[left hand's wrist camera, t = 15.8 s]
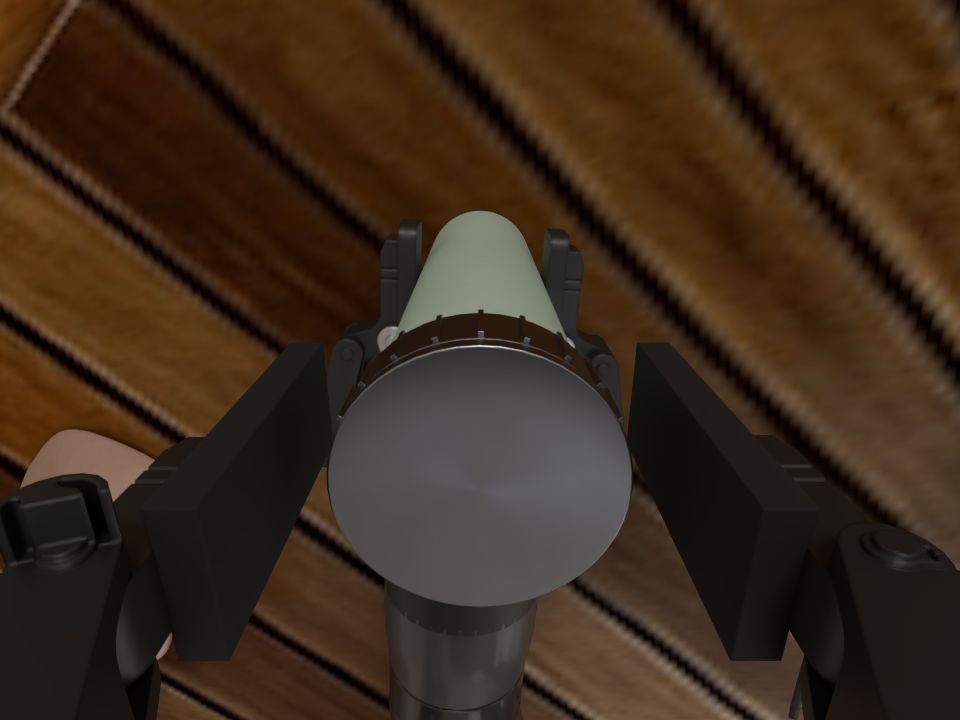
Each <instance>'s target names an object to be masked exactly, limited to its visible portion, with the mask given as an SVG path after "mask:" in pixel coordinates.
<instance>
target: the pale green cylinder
mask: <svg viewBox="0 0 960 720" xmlns="http://www.w3.org/2000/svg"><path fill="white" fill-rule="evenodd" d="M478 309H483V310H484V313H492V314H501V315H507V316H512V317H517V318H519V316H520V315H523V316H525V318H526V321H529V322H533V323H535V324H537V325H539V326H541V327H543V328H546V329H548V330H550V331H551V332H553V333H555V334H556V332H557V331H559V332H560V333H562V335H563V338H564V340H565V341H566V342H568V340H567V338H566V335H565V333H564V331H563V328H562V326H561V324H560V321H559V319H558V317H557V314H556V312H555V310H554V307H553V305H552V303H551V300H550V298H549V296H548V293H547V291H546V289H545V286H544V284H543V282H542V279H541V277H540V275H539V272H538V270H537V268H536V265H535V263H534V261H533V258H532V256H531V254H530V251H529V249H528V247H527V244H526V242H525V240H524V238H523V236H522V234H521V233H520V231H519V230H518V229H517V227H516V226H515V225H514V224H513V223H511V222H510V221H509V220H507V219H506V218H504V217H502V216H500V215H498V214H495V213H492V212H487V211H473V212H468V213H465V214H462V215H459V216H457V217H455V218H454V219H452V220H451V221H450V222H448V223H447V224H446V225H445V226H444V227H443V228H442V230H441V231H440V232H439V234H438V236H437V237H436V240H435V242H434V244H433V246H432V249H431V251H430V253H429V256H428V258H427V260H426V263H425V265H424V267H423V270H422V272H421V274H420V277H419V279H418V281H417V284H416V286H415V288H414V291H413V293H412V295H411V298H410V300H409V302H408V305H407V307H406V309H405V312H404V314H403V316H402V319H401V321H400V323H399V326H398V328H397V330H396V333H395V335H394V337H393V339H392V342H393V341H395V340H396V339H397V338H398V335H399V333H400V332H401V331H403V330H404V331H405V332H406V333H407V332H408V331H410V330H412V329H414V328H416V327H418V326H421V325H423V324H425V323H428V322H431V321H434V320H436V317H437V315H441V314H442V316H443V317H448V316H453V315H458V314H468V313H478ZM392 342H391V343H392ZM568 343H569V342H568Z"/></svg>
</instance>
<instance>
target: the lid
mask: <svg viewBox="0 0 960 720" xmlns="http://www.w3.org/2000/svg"><path fill="white" fill-rule="evenodd" d="M603 387H604V386H603V384H602V382H601V380H600V377H599V375H598V373H597V371H596V369H595V367H594V365H593V363H592V361H591V359H590V358H589V357H588V356H587V357H586V358H583V356H582V355H581V354H580V353H579V352H578V351H577V350H576V349H575V348H573V347H572V346H571V345H570V344H569V343H568V342H566V341H565V340H564V338H563V335H562V333H560V332H559V331H557V332H556V334H555V333H553V332H551V331H550V330H548V329H546V328H543V327H541V326H539V325H537V324H535V323H533V322H529V321H526V318H525V316H523V315H520V316H519V318H517V317H512V316H507V315H501V314H492V313H484V310H483V309H478V313H468V314H458V315H453V316H448V317H443V316H442V314H441V315H437V317H436V320H434V321H431V322H428V323H425V324H423V325H421V326H418V327H416V328H414V329H412V330H410V331H408V332H407V333H406V332H405V331H404V330H403V331H401V332H400V333H399V335H398V338H397V339H396V340H395V341H393V342H392V343H391V344H390V345H389V346H388V347H386V348H385V349H384V350H383V351H382V352H381V353H380V354H379V355H378V356H377V357H376V356H374V355H373V356H372V357H371V358H370V360H369V362H368V364H367V366H366V368H365V370H364V372H363V374H362V376H361V378H360V380H359V382H358V384H357V387H355V386H353V387H352V389H351V391H350V393H349V395H348V397H347V399H346V401H345V403H344V405H343V407H342V409H341V411H340V412H339V414H338V417H337V419H336V420H337V421H340V423H339V425H338V427H337V430H336V432H335V434H334V436H333V440H332V443H331V447H330V451H329V453H328V464H327V489H328V494H329V499H330V504H331V508H332V511H333V513H334V516H335V519H336V522H337V524H338V526H339V528H340V530H341V531H342V533H343V535H344V537H345V539H346V540H347V541H348V543H349V544H350V546H351V547H352V548H353V550H354V551H355V552H356V553H357V554H358V555H359V556H360V558H361V559H362V560H363V561H364V562H365V563H366V564H367V565H368V566H370V567H371V568H372V569H373V570H374V571H376V572H377V573H378V574H379V575H380V576H382V577H384V578H385V579H387V580H388V581H390V582H391V583H393V584H394V585H396V586H398V587H400V588H402V589H404V590H406V591H408V592H410V593H413V594H415V595H418V596H421V597H423V598H426V599H430V600H433V601H437V602H441V603H446V604H452V605H459V606H472V607H488V606H501V605H508V604H514V603H519V602H523V601H526V600H530V599H534V598H537V597H539V596H542V595H544V594H547V593H550V592H552V591H554V590H556V589H558V588H560V587H562V586H564V585H565V584H567V583H569V582H570V581H572V580H573V579H575V578H576V577H578V576H579V575H581V574H582V573H583V572H584V571H586V570H587V569H588V568H589V567H590V566H591V565H593V564H594V563H595V562H596V561H597V560H598V558H599V557H600V556H601V555H602V554H603V553H604V552H605V551H606V550H607V548H608V547H609V545H610V544H611V542H612V541H613V540H614V538H615V537H616V535H617V533H618V531H619V529H620V527H621V525H622V523H623V521H624V519H625V516H626V513H627V510H628V507H629V504H630V499H631V493H632V488H633V465H632V455H631V451H630V447H629V444H628V440H627V437H626V434H625V432H624V430H623V428H622V426H621V423H623V422H624V419H623V417H622V415H621V413H620V411H619V409H618V407H617V405H616V403H615V401H614V399H613V397H612V395H611V393H610V391H609V389H608V388H603Z"/></svg>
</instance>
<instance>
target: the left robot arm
mask: <svg viewBox="0 0 960 720" xmlns="http://www.w3.org/2000/svg"><path fill="white" fill-rule="evenodd" d="M332 440H333V434H332V425H331V415H330V406H329V396H328V387H327V378H326V368H325V359H324V349H323V343H290V344H289V346H288V347H287V348H286V349H285V350H284V351H283V352H282V353H281V354H280V355H279V356H278V358H277V359H276V360H275V361H274V362H273V363H272V364H271V365H270V366H269V367H268V369H267V370H266V371H265V372H264V373H263V374H262V375H261V376H260V377H259V378H258V380H257V381H256V382H255V383H254V384H253V385H252V386H251V387H250V388H249V389H248V390H247V392H246V393H245V394H244V395H243V396H242V397H241V398H240V399H239V400H238V401H237V403H236V404H235V405H234V406H233V407H232V408H231V409H230V410H229V411H228V412H227V413H226V415H225V416H224V417H223V418H222V419H221V420H220V421H219V422H218V423H217V424H216V426H215V427H214V428H213V429H212V430H211V431H210V432H209V433H208V434H207V435H206V437H188V438H187V439H185V440H183V441H181V442H179V443H178V444H176V445H174V446H172V447H170V448H169V449H167V450H165V451H164V452H163V453H162V454H161V455H160V456H159V457H158V458H157V459H156V460H155V461H154V462H153V463H152V464H151V465H150V466H149V467H148V470H145V471H144V472H143V473H142V474H141V475H140V476H139V477H138V478H137V479H136V480H135V483H134V484H131V485H130V486H129V487H128V488H127V489H126V490H125V491H124V492H123V493H122V494H121V495H120V496H119V497H118V498H117V499H116V500H115V501H114V502H113V499H112V496H111V492H110V488H109V485H108V481H107V480H105V479H104V478H102V477H101V476H99V475H94V474H87V473H77V474H66V475H59V476H56V477H52V478H48V479H44V480H40V481H37V482H34V483H32V484H29V485H27V486H24V487H22V488H19V489H17V490H15V491H14V492H12V493H10V494H9V495H7V496H5V497H4V498H2V499H0V552H1V554H2V557H3V560H4V562H5V565H6V567H5V569H4V571H3V572H2V573H0V720H156V718H157V710H158V702H159V694H160V686H161V676H160V669H159V665H158V662H157V658H156V656H157V654H158V653H159V651H160V649H161V648H162V646H163V645H164V643H165V641H166V640H167V638H168V637H169V635H170V633H171V632H172V636H173V640H174V644H175V648H176V652H177V655H178V659H179V661H229V660H230V658H231V656H232V654H233V652H234V650H235V648H236V646H237V644H238V642H239V639H240V637H241V635H242V633H243V631H244V629H245V627H246V625H247V623H248V621H249V618H250V616H251V614H252V612H253V610H254V608H255V606H256V604H257V602H258V600H259V598H260V595H261V593H262V591H263V589H264V587H265V585H266V583H267V581H268V579H269V577H270V574H271V572H272V570H273V568H274V566H275V564H276V562H277V560H278V558H279V556H280V554H281V551H282V549H283V547H284V545H285V543H286V541H287V539H288V537H289V535H290V533H291V530H292V528H293V526H294V524H295V522H296V520H297V518H298V516H299V514H300V512H301V510H302V507H303V505H304V503H305V501H306V499H307V497H308V495H309V493H310V491H311V489H312V487H313V484H314V482H315V480H316V478H317V476H318V474H319V472H320V470H321V468H322V466H323V463H324V461H325V459H326V457H327V455H328V453H329V451H330V447H331V443H332ZM627 440H628V444H629V447H630V451H631V453H632V455H633V457H634V459H635V461H636V463H637V466H638V468H639V470H640V472H641V474H642V476H643V478H644V480H645V482H646V484H647V487H648V489H649V491H650V493H651V495H652V497H653V499H654V501H655V503H656V505H657V507H658V510H659V512H660V514H661V516H662V518H663V520H664V522H665V524H666V526H667V528H668V531H669V533H670V535H671V537H672V539H673V541H674V543H675V545H676V547H677V549H678V551H679V554H680V556H681V558H682V560H683V562H684V564H685V566H686V568H687V570H688V572H689V574H690V577H691V579H692V581H693V583H694V585H695V587H696V589H697V591H698V593H699V595H700V598H701V600H702V602H703V604H704V606H705V608H706V610H707V612H708V614H709V616H710V618H711V621H712V623H713V625H714V627H715V629H716V631H717V633H718V635H719V637H720V639H721V642H722V644H723V646H724V648H725V650H726V652H727V654H728V656H729V658H730V660H731V661H781V659H782V655H783V652H784V648H785V644H786V640H787V636H788V632H789V630H790V632H791V634H792V635H793V637H794V638H795V640H796V642H797V643H798V645H799V646H800V648H801V650H802V651H803V653H804V654H805V655H804V658H803V662H802V665H801V669H800V673H799V676H798V680H797V683H796V687H795V691H794V694H793V698H792V701H791V705H790V711H789V718H792V719H795V720H797V718H798V715H799V711H800V708H801V707H802V708H803V716H804V720H960V571H959V570H957V569H956V567H955V566H954V564H953V563H952V562H951V561H950V559H949V558H948V557H947V556H946V555H945V553H944V552H943V551H941V550H940V549H938V548H937V547H935V546H934V545H933V544H931V543H930V542H928V541H927V540H925V539H923V538H921V537H919V536H917V535H915V534H913V533H910V532H908V531H906V530H904V529H900V528H897V527H893V526H890V525H886V524H883V523H873V522H869V521H868V520H867V519H866V518H865V517H864V516H863V515H862V514H861V513H860V512H859V511H858V510H857V509H856V508H855V507H854V506H853V505H852V504H851V503H850V502H849V501H848V500H847V499H846V498H845V497H844V496H843V495H842V494H841V493H840V492H839V491H838V490H837V489H836V488H835V487H834V486H833V485H832V484H831V483H830V482H826V478H825V477H824V476H823V475H822V474H821V473H820V472H819V471H818V470H817V469H816V468H812V464H811V463H810V462H809V461H808V460H807V459H806V458H805V457H804V456H803V455H802V454H801V453H800V452H799V451H798V450H797V449H795V448H793V447H792V446H790V445H788V444H786V443H784V442H783V441H781V440H779V439H777V438H776V437H774V436H772V435H753V434H752V433H751V432H750V431H749V430H748V429H747V428H746V427H745V426H744V424H743V423H742V422H741V421H740V420H739V419H738V418H737V417H736V416H735V415H734V413H733V412H732V411H731V410H730V409H729V408H728V407H727V406H726V405H725V404H724V403H723V401H722V400H721V399H720V398H719V397H718V396H717V395H716V394H715V393H714V392H713V390H712V389H711V388H710V387H709V386H708V385H707V384H706V383H705V382H704V381H703V380H702V378H701V377H700V376H699V375H698V374H697V373H696V372H695V371H694V370H693V369H692V367H691V366H690V365H689V364H688V363H687V362H686V361H685V360H684V359H683V358H682V356H681V355H680V354H679V353H678V352H677V351H676V350H675V349H674V348H673V347H672V346H671V344H670V343H637V349H636V359H635V368H634V378H633V387H632V396H631V406H630V415H629V425H628V434H627Z"/></svg>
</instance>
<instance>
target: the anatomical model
mask: <svg viewBox="0 0 960 720" xmlns="http://www.w3.org/2000/svg"><path fill="white" fill-rule="evenodd" d="M154 461H155V460H154V459H152V458H151V457H149V456H147V455H145V454H143V453H141V452H139V451H137V450H135V449H133V448H131V447H129V446H127V445H124V444H122V443H119V442H117V441H114V440H112V439H110V438H107V437H104V436H101V435H98V434H95V433H92V432H88V431H83V430H76V429H71V430H64V431H61V432H59V433H57V434H56V435H54V436H53V437H52V438H51V439H50V440H49V441H48V442H47V443H46V444H45V445H44V446H43V447H42V449H41V450H40V452H39V453H38V455H37V456H36V458H35V459H34V461H33V462H32V463H31V465H30V467H29V468H28V470H27V472H26V475H25V477H24V480H23V482H22V485H21V488H22V487H24V486H27V485H29V484H32V483H34V482H37V481H40V480H44V479H48V478H52V477H56V476H59V475H66V474H77V473H87V474H94V475H99V476H101V477H102V478H104V479H105V480H107V481H108V485H109V488H110V492H111V496H112V499H113V502H114V501H115V500H116V499H117V498H118V497H119V496H120V495H121V494H122V493H123V492H124V491H125V490H126V489H127V488H128V487H129V486H130V485H131V484H134V483H135V480H136V479H137V478H138V477H139V476H140V475H141V474H142V473H143V472H144V471H145V470H148V467H149V466H150V465H151V464H152V463H153V462H154ZM172 637H173V636H172V632H171V633H170V635H169V637H168V638H167V640H166V641H165V643H164V645H163V646H162V648H161V649H160V651H159V653H158V654H157V656H156V658H157V660H158V659H160V658H161V657H162V656H163V655H164V654H165V653H166V652H167V650H168V649H169V646H170V644H171V641H172Z"/></svg>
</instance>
